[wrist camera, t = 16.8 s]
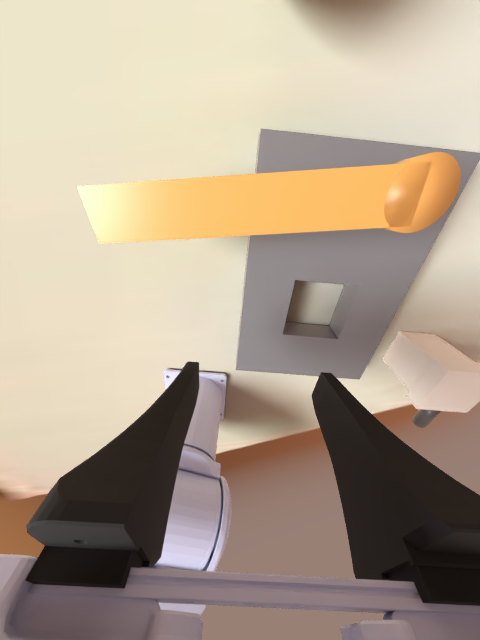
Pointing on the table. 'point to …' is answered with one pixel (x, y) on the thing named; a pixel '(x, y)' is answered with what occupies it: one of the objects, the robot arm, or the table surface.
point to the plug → (433, 375)
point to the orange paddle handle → (276, 202)
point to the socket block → (330, 266)
